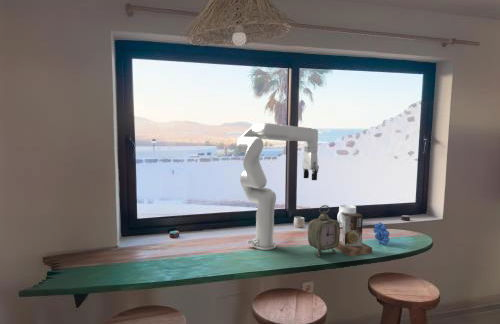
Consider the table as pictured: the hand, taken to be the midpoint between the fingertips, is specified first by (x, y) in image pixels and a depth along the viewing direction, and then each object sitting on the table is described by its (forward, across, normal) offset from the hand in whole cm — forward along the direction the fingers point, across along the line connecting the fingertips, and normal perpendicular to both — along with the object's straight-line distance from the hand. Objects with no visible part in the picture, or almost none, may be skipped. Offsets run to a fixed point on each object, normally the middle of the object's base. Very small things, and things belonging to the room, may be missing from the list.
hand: (310, 179), depth 200 cm
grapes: (+34, +25, +31) cm, 53 cm away
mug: (+34, -14, +36) cm, 52 cm away
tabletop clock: (+34, +29, -8) cm, 46 cm away
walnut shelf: (+34, +29, +10) cm, 46 cm away
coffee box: (+32, +28, +10) cm, 44 cm away
